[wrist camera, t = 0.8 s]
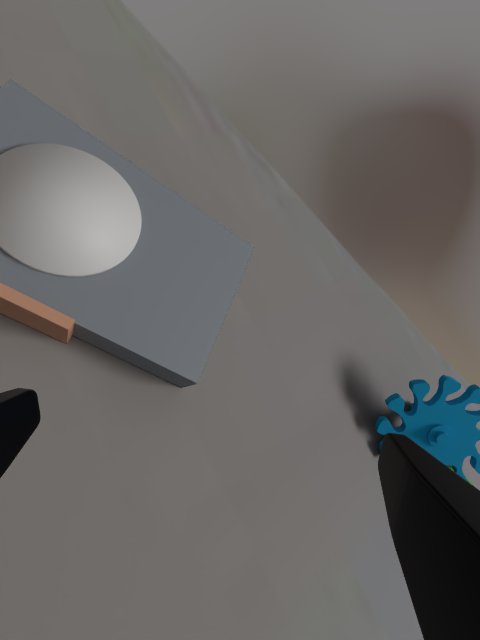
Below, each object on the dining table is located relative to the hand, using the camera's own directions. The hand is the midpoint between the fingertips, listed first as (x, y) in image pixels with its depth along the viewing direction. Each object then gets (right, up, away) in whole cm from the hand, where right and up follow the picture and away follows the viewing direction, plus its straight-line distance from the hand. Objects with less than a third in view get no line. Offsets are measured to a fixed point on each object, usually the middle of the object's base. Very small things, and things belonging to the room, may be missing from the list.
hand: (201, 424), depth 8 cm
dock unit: (-8, +7, +13) cm, 17 cm away
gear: (+16, -8, +23) cm, 29 cm away
